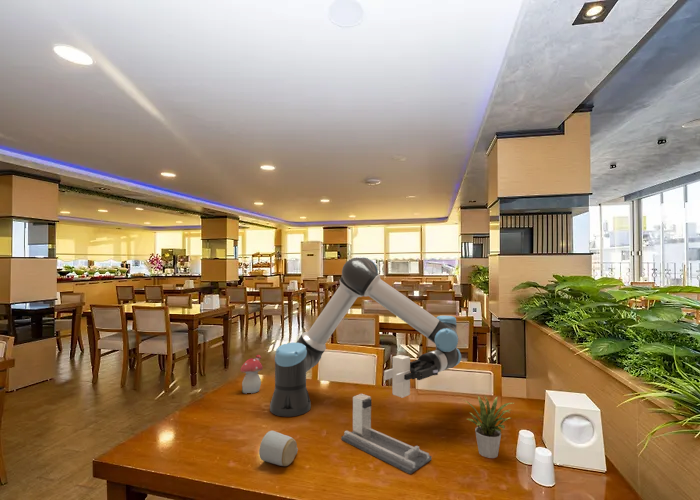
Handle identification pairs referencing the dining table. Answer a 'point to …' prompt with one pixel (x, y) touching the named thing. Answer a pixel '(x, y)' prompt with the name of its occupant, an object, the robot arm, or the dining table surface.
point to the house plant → (488, 428)
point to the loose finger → (400, 365)
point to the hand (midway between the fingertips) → (390, 377)
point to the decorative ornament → (251, 375)
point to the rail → (381, 440)
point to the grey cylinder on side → (278, 448)
